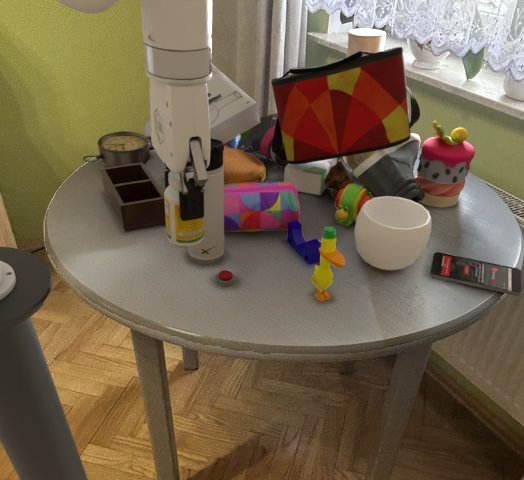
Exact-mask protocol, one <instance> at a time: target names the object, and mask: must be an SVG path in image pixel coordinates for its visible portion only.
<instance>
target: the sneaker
mask: <svg viewBox="0 0 524 480" xmlns="http://www.w3.org/2000/svg"><path fill="white" fill-rule="evenodd" d="M410 134H411V138H410V139H409V140H408V141H406V142H404V143H402V144H399V145H397V146H394V147H390V148H386V149H382V150H379V151H377V152H376V153H374V154H373V155H372V156H370V157H369V158H368V159H366V160H365V161H364V162H363V163H361V164H360V165H359V166H358V167H357V168H355V169H354V170H352V171H351V173H352V175H353V176H354V177H355V178H357V179H358V181H359V182H360V183H361V185H362V186H365V187H366V189H368V191H369V194H370V193H371V194H372V196H373V197H374V198H375V197H383V196H392V197H401V198H405V199H409V200H412V201H414V202H416V203H418V204H419V201H420V200H421V201H423V198H424V197H425V192H424V190H420V188H421V186H420V183H419V182H416V180H415V177H416V176H415V174H414V169H415V164H416V161H417V159H418V154H419V151H420V149H421V143H422V141H421V137H420V136H419V135H418V134H417V133H410Z"/></svg>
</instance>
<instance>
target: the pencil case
mask: <svg viewBox="0 0 524 480" xmlns="http://www.w3.org/2000/svg"><path fill="white" fill-rule="evenodd" d="M299 201H300V200H299V193H298V191H297V189H296V188H295V187H294V183H293V181H288V182H284V181H269V182H263V183H262V182H245V183H234V184H227V185H224V234H225V233H226V234H227V233H228V234H229V233H246V232H249V233H250V232H272V231H275V232H276V231H277V232H278V231H279V232H280V231H288V223H291V222H295V221H299V222H300V217H301V205H300V202H299Z"/></svg>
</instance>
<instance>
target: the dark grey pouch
mask: <svg viewBox="0 0 524 480" xmlns="http://www.w3.org/2000/svg"><path fill="white" fill-rule="evenodd" d="M259 117H260V123H259V124H257V125H255V126H253V127H252V128H250V129H248V137H247V138H246V139H245V140H244V141H241V139H239V140H238V143H237V145H236V147H235V148H236V149H240V150H242V151H244V150H247V149H249V148H250V147H251V143H252V140H253V139H256V138H258V137H259V136H261V135H262V134H263V133H264V132H265V131H266V130H267V129H268V128H269V126H270V125H271V123H272V117H274V118H277V117H278V114H277V112H276V113H271V114H267V115H264V116H263V115H262V116H259Z"/></svg>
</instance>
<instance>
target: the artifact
mask: <svg viewBox="0 0 524 480" xmlns="http://www.w3.org/2000/svg"><path fill="white" fill-rule="evenodd" d="M324 183H325V185H326V188H327V189H328V190H330V196H331V197H332V198H333V199H335V200H336V196H337V194H338V192H339V191H340V190H341V189H343V188H345V187H346V186H347V185H349V184H352V183H354V180H353V179H352V177H351V175H350V174H349V172H348V170H347V168H346V166H344V164H343V163H342V161H340V160H339V161H338V160H337V164H336V165H335V166H333V167H331V168H330V170H329V172H328V174H327V176H326V178H325V180H324Z"/></svg>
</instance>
